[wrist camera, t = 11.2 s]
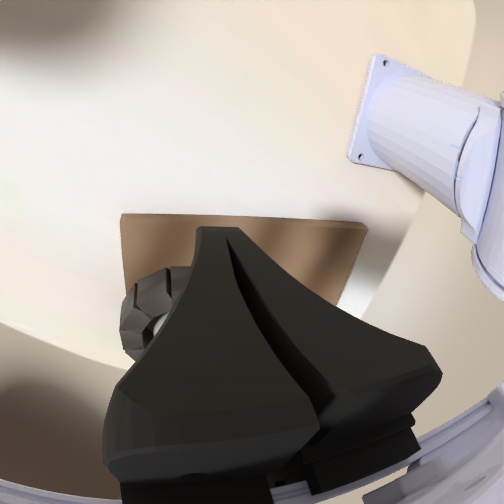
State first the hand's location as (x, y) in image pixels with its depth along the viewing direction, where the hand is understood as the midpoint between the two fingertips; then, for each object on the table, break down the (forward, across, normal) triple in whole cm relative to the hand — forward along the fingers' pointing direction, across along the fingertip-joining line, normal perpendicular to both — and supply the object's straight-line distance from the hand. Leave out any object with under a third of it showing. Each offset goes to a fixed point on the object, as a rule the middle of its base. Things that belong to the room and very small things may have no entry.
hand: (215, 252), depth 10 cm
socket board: (+10, -4, +11) cm, 15 cm away
